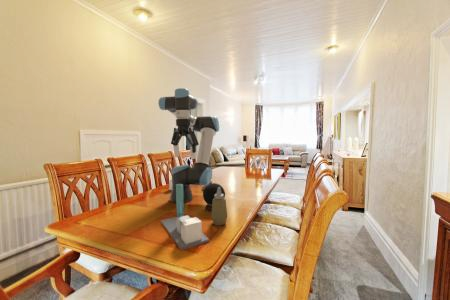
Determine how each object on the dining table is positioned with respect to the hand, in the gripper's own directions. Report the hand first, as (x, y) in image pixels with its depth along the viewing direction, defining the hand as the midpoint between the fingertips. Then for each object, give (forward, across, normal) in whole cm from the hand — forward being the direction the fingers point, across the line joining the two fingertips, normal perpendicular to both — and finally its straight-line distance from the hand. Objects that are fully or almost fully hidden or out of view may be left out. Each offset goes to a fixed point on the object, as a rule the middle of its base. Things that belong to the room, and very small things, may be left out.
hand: (184, 157), depth 114 cm
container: (+33, -47, +28) cm, 64 cm away
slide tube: (+29, +19, -17) cm, 38 cm away
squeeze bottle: (+31, +23, +1) cm, 39 cm away
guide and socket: (+30, +16, -16) cm, 38 cm away
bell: (+34, -25, +44) cm, 60 cm away
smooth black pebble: (+32, +7, +15) cm, 36 cm away
